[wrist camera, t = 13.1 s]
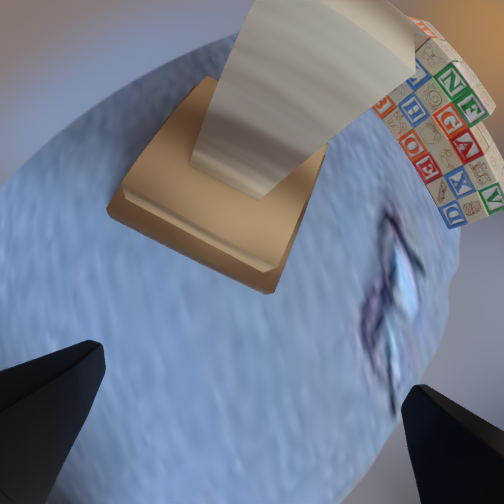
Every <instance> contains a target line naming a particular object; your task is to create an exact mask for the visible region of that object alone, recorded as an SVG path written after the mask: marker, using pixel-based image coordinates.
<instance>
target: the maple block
mask: <svg viewBox="0 0 504 504" xmlns="http://www.w3.org/2000/svg"><path fill="white" fill-rule="evenodd" d="M217 84H218V80H216V79H214V78H211V77H209V76H206V77H205V78H204V79H203V80H202V81H201V82H200V84H199V85H198V86H197V87H196V88H195V89H194V90H193V91H192V92H191V93H190V94H189V96H188V97H187V98H186V99H185V100H184V101H183V102H182V104H181V105H180V106H179V107H178V108H177V109H176V110H175V112H174V113H173V114H172V115H171V116H170V118H169V119H168V120H167V121H166V122H165V124H164V125H163V126H162V127H161V129H160V130H159V131H158V132H157V134H156V135H155V136H154V138H153V139H152V140H151V141H150V143H149V144H148V145H147V147H146V148H145V149H144V151H143V152H142V153H141V155H140V156H139V157H138V159H137V160H136V162H135V163H134V164H133V166H132V167H131V169H130V170H129V171H128V173H127V174H126V176H125V177H124V179H123V180H122V182H121V184H122V188H123V191H124V195H125V198H126V199H127V200H129V201H131V202H133V203H135V204H136V205H138V206H140V207H142V208H144V209H145V210H147V211H149V212H151V213H153V214H155V215H156V216H158V217H160V218H162V219H164V220H166V221H167V222H169V223H171V224H173V225H175V226H177V227H179V228H180V229H182V230H184V231H186V232H188V233H190V234H192V235H193V236H195V237H197V238H199V239H201V240H203V241H205V242H206V243H208V244H210V245H212V246H214V247H216V248H218V249H220V250H221V251H223V252H225V253H227V254H229V255H231V256H233V257H235V258H237V259H238V260H240V261H242V262H244V263H246V264H248V265H250V266H252V267H254V268H255V269H257V270H259V271H261V272H266V271H269V270H271V269H274V268H277V267H278V266H279V263H280V261H281V259H282V256H283V254H284V252H285V249H286V247H287V244H288V242H289V240H290V237H291V235H292V233H293V230H294V228H295V225H296V223H297V221H298V218H299V216H300V213H301V211H302V208H303V206H304V204H305V201H306V199H307V196H308V194H309V191H310V189H311V186H312V184H313V181H314V179H315V176H316V174H317V171H318V169H319V166H320V164H321V161H322V159H323V156H324V154H325V151H326V149H327V146H328V143H326V144H325V145H324V146H322V147H321V148H320V149H319V150H318V151H316V152H315V153H314V154H313V155H312V156H310V157H309V158H308V159H307V160H306V161H304V162H303V163H302V164H301V165H300V166H298V167H297V168H296V169H295V170H294V171H293V172H291V173H290V174H289V175H288V176H287V177H285V178H284V179H283V180H282V181H281V182H280V183H278V184H277V185H276V186H275V187H274V188H273V189H271V190H270V191H269V192H268V193H267V194H266V195H264V196H263V197H262V198H261V199H260V200H259V201H256V200H254V199H252V198H251V197H249V196H247V195H245V194H243V193H242V192H240V191H238V190H236V189H234V188H233V187H231V186H229V185H227V184H225V183H223V182H221V181H220V180H218V179H216V178H214V177H212V176H210V175H208V174H207V173H205V172H203V171H201V170H199V169H197V168H195V167H193V166H191V165H189V163H190V160H191V157H192V154H193V151H194V147H195V144H196V142H197V139H198V136H199V133H200V130H201V127H202V124H203V121H204V119H205V116H206V113H207V110H208V108H209V105H210V102H211V100H212V97H213V94H214V92H215V89H216V87H217Z"/></svg>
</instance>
